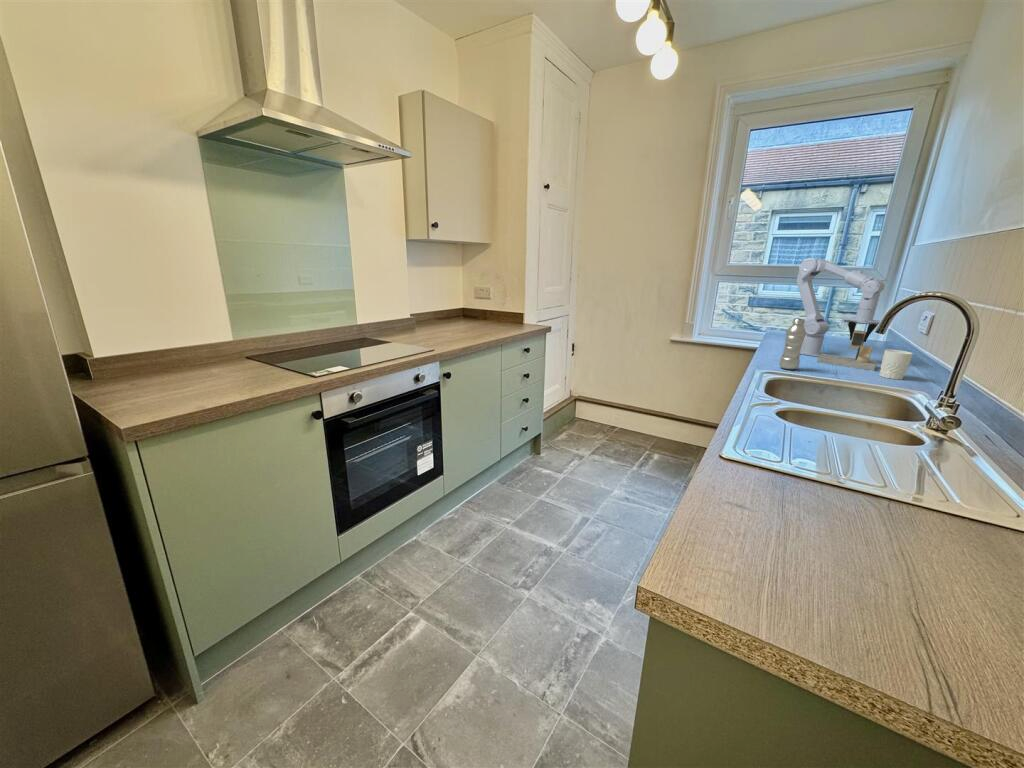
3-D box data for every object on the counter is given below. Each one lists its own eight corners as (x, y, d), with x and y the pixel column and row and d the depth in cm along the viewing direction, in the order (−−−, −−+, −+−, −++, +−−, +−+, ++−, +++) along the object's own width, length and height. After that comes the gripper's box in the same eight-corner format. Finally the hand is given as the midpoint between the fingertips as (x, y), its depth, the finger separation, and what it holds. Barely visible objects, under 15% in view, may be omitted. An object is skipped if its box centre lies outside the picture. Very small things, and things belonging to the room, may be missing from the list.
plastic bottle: (801, 371, 160) (814, 320, 154) (784, 370, 160) (796, 319, 154) (791, 367, 166) (802, 318, 160) (774, 366, 166) (785, 317, 161)
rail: (816, 362, 177) (818, 356, 176) (820, 359, 182) (821, 353, 181) (873, 371, 164) (875, 364, 163) (875, 367, 169) (877, 361, 168)
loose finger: (850, 346, 179) (854, 330, 177) (862, 347, 176) (866, 331, 174) (849, 347, 176) (853, 331, 174) (861, 349, 174) (865, 332, 171)
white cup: (872, 375, 157) (880, 350, 154) (883, 373, 160) (891, 348, 157) (898, 381, 150) (906, 354, 147) (909, 379, 154) (917, 353, 151)
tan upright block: (867, 363, 169) (872, 347, 167) (866, 365, 167) (871, 348, 165) (855, 362, 172) (859, 345, 170) (854, 363, 169) (858, 346, 167)
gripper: (843, 307, 174) (835, 339, 178) (888, 311, 164) (878, 344, 168) (846, 306, 179) (837, 337, 183) (890, 310, 169) (880, 342, 173)
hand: (857, 340), depth 176 cm, fingers closed on loose finger, 4 cm apart
